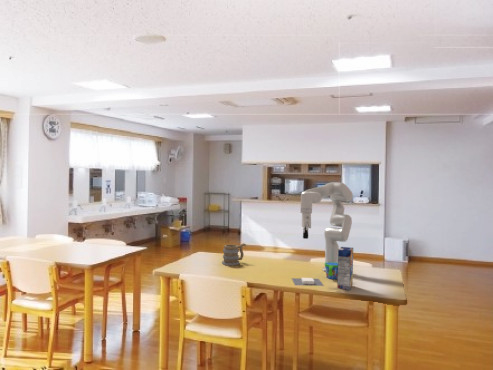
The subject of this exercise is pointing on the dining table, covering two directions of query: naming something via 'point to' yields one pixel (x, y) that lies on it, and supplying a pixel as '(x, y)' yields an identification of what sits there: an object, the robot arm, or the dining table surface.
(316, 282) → the mat
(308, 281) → the tile
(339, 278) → the juice carton
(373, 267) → the dining table surface
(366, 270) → the dining table surface
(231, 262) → the tankard
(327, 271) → the snack cup
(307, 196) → the robot arm
